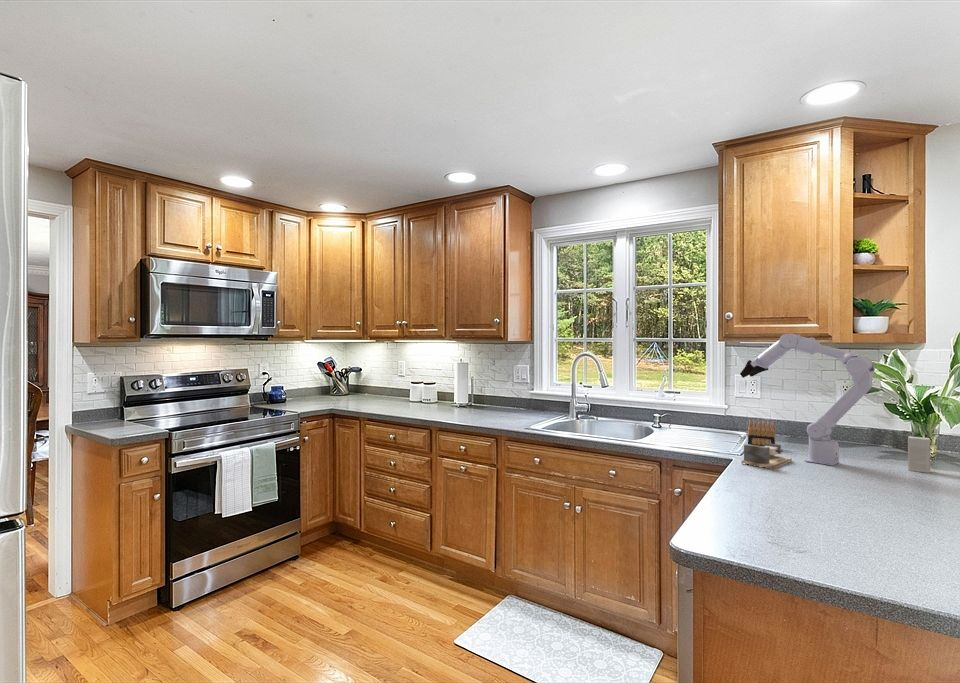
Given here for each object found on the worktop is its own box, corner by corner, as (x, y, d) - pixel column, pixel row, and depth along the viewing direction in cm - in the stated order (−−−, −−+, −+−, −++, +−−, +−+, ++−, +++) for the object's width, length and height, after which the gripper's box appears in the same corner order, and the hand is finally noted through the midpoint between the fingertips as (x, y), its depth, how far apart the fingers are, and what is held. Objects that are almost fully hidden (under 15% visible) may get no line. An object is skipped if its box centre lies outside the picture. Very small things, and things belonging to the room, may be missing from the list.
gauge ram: (785, 454, 203) (785, 445, 203) (777, 457, 198) (777, 448, 198) (764, 451, 209) (764, 442, 209) (757, 454, 204) (756, 445, 204)
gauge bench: (791, 461, 202) (791, 442, 202) (772, 469, 190) (772, 449, 190) (761, 456, 210) (761, 438, 210) (741, 463, 198) (741, 445, 198)
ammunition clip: (747, 446, 231) (747, 419, 231) (748, 445, 232) (748, 418, 232) (775, 449, 225) (775, 421, 225) (775, 448, 226) (775, 420, 226)
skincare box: (930, 471, 186) (930, 437, 186) (929, 473, 183) (929, 439, 183) (908, 468, 190) (908, 435, 190) (907, 470, 187) (907, 437, 187)
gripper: (771, 347, 221) (746, 367, 228) (757, 348, 211) (731, 368, 219) (783, 360, 217) (757, 380, 225) (769, 361, 208) (743, 381, 216)
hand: (745, 375), depth 222 cm, fingers open, 7 cm apart
